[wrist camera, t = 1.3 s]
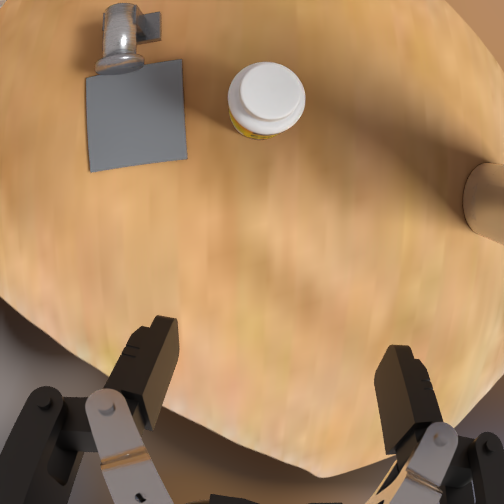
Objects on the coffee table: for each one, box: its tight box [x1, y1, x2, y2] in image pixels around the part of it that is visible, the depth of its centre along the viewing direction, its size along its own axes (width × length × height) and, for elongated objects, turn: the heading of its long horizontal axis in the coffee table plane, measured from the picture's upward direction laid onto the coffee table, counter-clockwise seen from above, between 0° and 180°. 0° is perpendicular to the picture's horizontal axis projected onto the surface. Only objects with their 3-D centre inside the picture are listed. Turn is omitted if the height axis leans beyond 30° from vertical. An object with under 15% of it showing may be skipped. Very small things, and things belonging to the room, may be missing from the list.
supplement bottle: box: [228, 62, 305, 140], centre depth 24 cm, size 6×6×10 cm
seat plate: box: [86, 59, 187, 172], centre depth 28 cm, size 10×10×1 cm
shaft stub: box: [95, 3, 161, 75], centre depth 23 cm, size 6×7×6 cm
